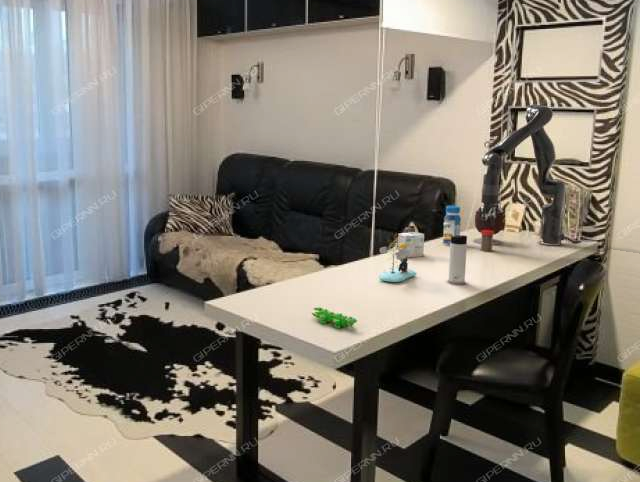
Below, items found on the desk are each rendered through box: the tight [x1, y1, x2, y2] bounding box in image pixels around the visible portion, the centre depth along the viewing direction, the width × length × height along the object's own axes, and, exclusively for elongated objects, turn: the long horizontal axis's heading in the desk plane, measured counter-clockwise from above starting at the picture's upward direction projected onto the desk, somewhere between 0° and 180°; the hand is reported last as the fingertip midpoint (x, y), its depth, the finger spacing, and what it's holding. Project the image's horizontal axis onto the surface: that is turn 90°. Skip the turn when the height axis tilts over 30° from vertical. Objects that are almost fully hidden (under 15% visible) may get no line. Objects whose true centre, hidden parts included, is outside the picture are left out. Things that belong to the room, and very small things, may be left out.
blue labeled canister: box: [442, 205, 462, 247], centre depth 313 cm, size 8×8×20 cm
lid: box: [480, 230, 495, 236], centre depth 300 cm, size 6×6×2 cm
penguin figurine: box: [378, 243, 417, 283], centre depth 253 cm, size 20×11×15 cm, turn 133°
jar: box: [480, 234, 494, 252], centre depth 301 cm, size 5×5×9 cm
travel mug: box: [448, 234, 468, 286], centre depth 246 cm, size 6×7×20 cm
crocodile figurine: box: [311, 306, 358, 329], centre depth 202 cm, size 7×18×4 cm, turn 44°
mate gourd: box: [474, 207, 504, 246], centre depth 317 cm, size 16×14×20 cm
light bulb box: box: [397, 231, 425, 258], centre depth 291 cm, size 11×7×11 cm, turn 108°
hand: (488, 226), depth 299 cm, fingers open, 7 cm apart
